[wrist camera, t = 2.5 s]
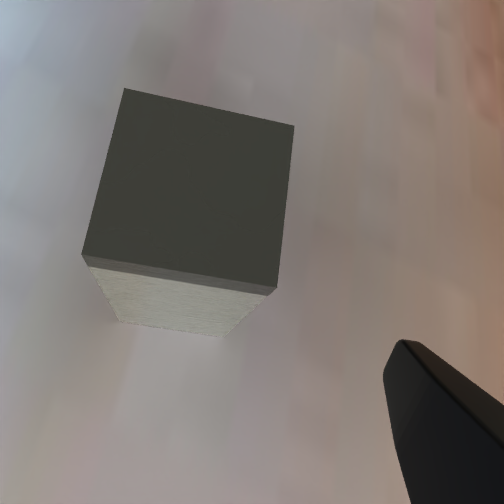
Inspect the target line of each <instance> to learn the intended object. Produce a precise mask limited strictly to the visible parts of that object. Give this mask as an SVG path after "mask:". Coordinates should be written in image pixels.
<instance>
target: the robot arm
mask: <svg viewBox="0 0 504 504" xmlns="http://www.w3.org/2000/svg"><path fill="white" fill-rule="evenodd" d="M383 383H384V388H385V394H386V400H387V406H388V411H389V417H390V423H391V428H392V434H393V439H394V444H395V449H396V452H397V456H398V460H399V463H400V467H401V470H402V474H403V477H404V481H405V484H406V488H407V491H408V495H409V498H410V502H411V504H504V405H503V404H501V403H500V402H499V401H497V400H496V399H495V398H493V397H492V396H491V395H489V394H488V393H487V392H485V391H484V390H483V389H481V388H480V387H479V386H477V385H476V384H475V383H473V382H472V381H471V380H469V379H468V378H467V377H465V376H464V375H463V374H461V373H460V372H459V371H457V370H456V369H455V368H453V367H452V366H451V365H449V364H448V363H447V362H445V361H444V360H443V359H441V358H440V357H439V356H437V355H436V354H435V353H433V352H432V351H431V350H429V349H428V348H427V347H425V346H424V345H423V344H421V343H420V342H417V341H411V340H404V339H401V340H399V341H398V342H397V343H396V345H395V347H394V349H393V351H392V353H391V355H390V357H389V359H388V362H387V364H386V366H385V368H384V372H383Z"/></svg>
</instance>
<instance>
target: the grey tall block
mask: <svg viewBox="0 0 504 504" xmlns="http://www.w3.org/2000/svg"><path fill="white" fill-rule="evenodd" d="M293 134H294V126H293V125H288V124H284V123H279V122H275V121H270V120H266V119H261V118H257V117H252V116H248V115H243V114H239V113H234V112H230V111H225V110H221V109H216V108H212V107H207V106H203V105H198V104H194V103H189V102H185V101H180V100H176V99H171V98H167V97H162V96H158V95H153V94H149V93H144V92H140V91H135V90H131V89H126V88H124V91H123V95H122V99H121V103H120V107H119V111H118V115H117V118H116V122H115V126H114V130H113V134H112V138H111V142H110V146H109V149H108V153H107V157H106V161H105V165H104V169H103V173H102V177H101V180H100V184H99V188H98V192H97V196H96V200H95V204H94V207H93V211H92V215H91V219H90V223H89V227H88V231H87V235H86V238H85V242H84V246H83V250H82V254H81V255H82V257H83V258H84V260H85V262H86V264H87V265H88V267H89V269H90V271H91V272H92V274H93V276H94V277H95V279H96V281H97V283H98V284H99V286H100V288H101V290H102V291H103V293H104V295H105V296H106V298H107V300H108V302H109V303H110V305H111V307H112V309H113V310H114V312H115V314H116V315H117V317H118V319H119V321H120V322H124V323H131V324H137V325H144V326H151V327H157V328H164V329H171V330H177V331H184V332H191V333H197V334H204V335H211V336H217V337H224V336H225V335H226V334H227V333H228V332H229V331H231V330H232V329H233V328H234V327H235V326H236V325H237V324H238V323H239V322H240V321H241V320H242V319H244V318H245V317H246V316H247V315H248V314H249V313H250V312H251V311H252V310H253V309H254V308H255V307H257V306H258V305H259V304H260V303H261V302H262V301H263V300H264V299H265V298H266V297H267V296H268V295H270V294H271V293H272V292H273V291H274V290H275V289H276V288H277V282H278V273H279V264H280V255H281V245H282V236H283V227H284V218H285V208H286V199H287V190H288V181H289V171H290V162H291V153H292V143H293Z"/></svg>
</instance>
